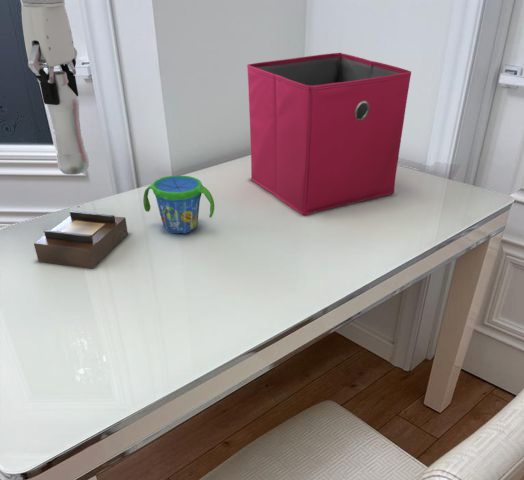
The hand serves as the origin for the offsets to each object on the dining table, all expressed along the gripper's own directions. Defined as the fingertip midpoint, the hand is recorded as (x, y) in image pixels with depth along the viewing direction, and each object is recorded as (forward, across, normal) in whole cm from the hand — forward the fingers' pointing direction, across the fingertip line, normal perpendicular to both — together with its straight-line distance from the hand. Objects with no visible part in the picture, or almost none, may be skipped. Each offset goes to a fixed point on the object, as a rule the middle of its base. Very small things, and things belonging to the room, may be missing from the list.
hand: (61, 99), depth 112 cm
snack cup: (+25, 0, +24) cm, 35 cm away
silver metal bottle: (+15, 0, 0) cm, 15 cm away
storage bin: (+25, -32, +50) cm, 64 cm away
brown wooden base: (+26, +14, +8) cm, 30 cm away
